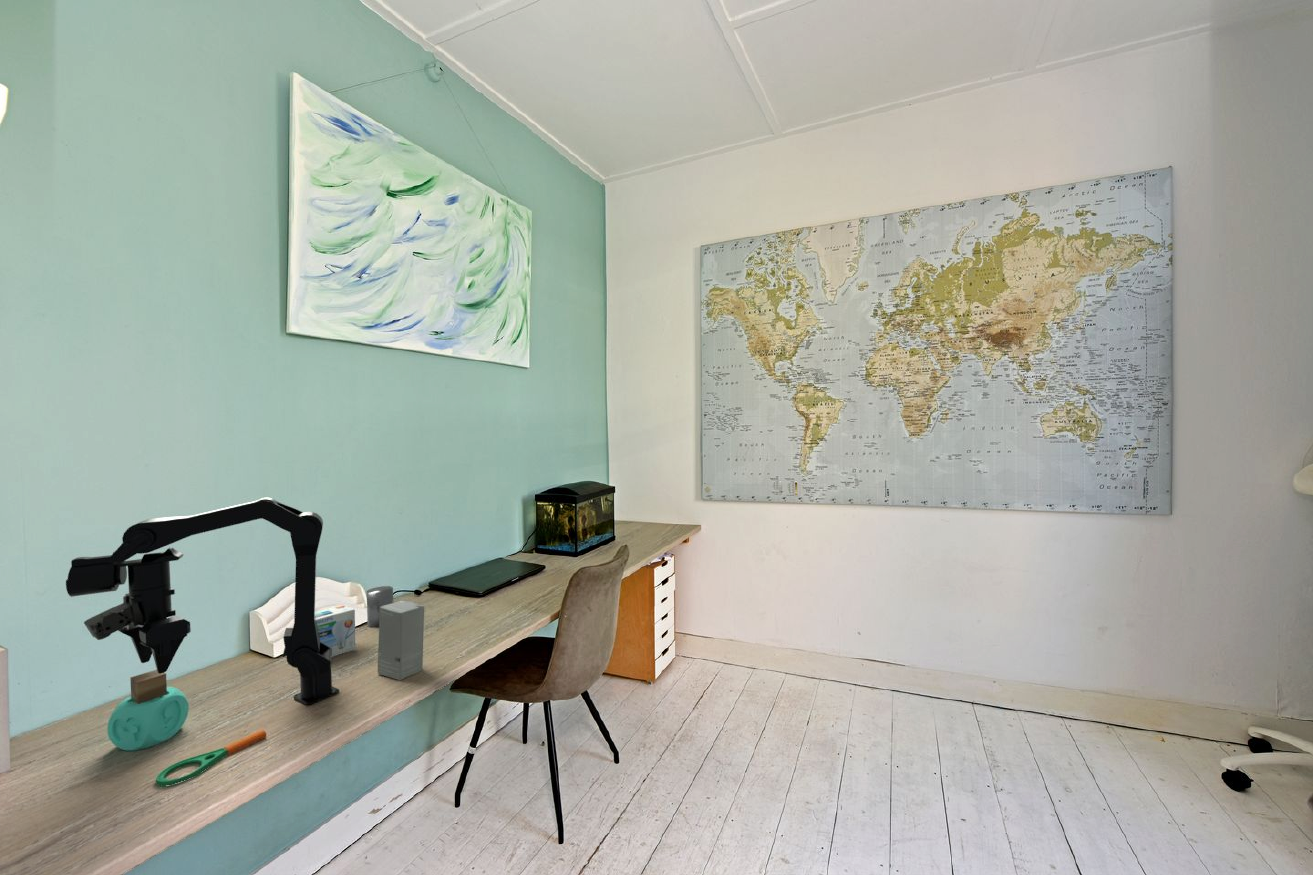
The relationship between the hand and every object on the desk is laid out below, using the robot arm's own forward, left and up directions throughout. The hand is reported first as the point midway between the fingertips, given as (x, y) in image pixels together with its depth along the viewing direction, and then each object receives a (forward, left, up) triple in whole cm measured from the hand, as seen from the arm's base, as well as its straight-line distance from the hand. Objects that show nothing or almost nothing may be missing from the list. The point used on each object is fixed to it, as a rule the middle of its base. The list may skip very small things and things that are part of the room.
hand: (153, 667), depth 100 cm
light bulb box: (+9, -36, -13) cm, 39 cm away
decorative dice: (-1, +1, -13) cm, 13 cm away
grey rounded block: (+18, -55, -13) cm, 59 cm away
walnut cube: (-1, +1, -5) cm, 5 cm away
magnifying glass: (-20, -2, -14) cm, 24 cm away
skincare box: (-18, -39, -13) cm, 45 cm away
